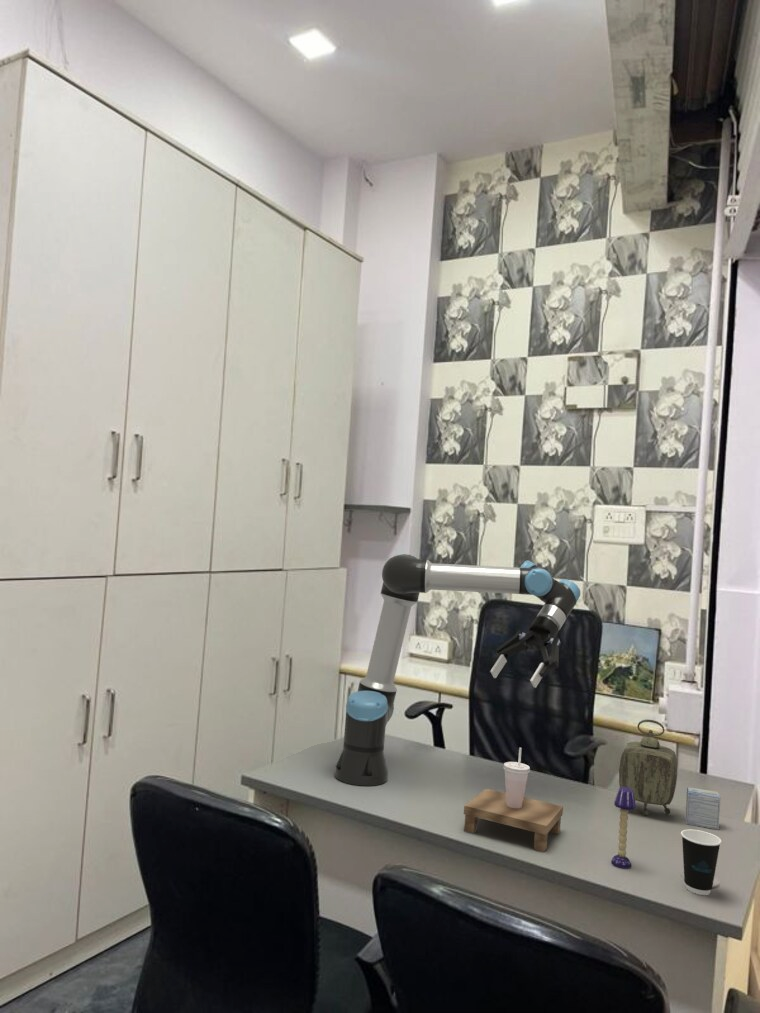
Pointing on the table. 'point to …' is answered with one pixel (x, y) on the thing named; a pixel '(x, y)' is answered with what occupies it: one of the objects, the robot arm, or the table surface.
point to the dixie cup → (699, 860)
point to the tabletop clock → (649, 770)
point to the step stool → (514, 815)
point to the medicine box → (702, 808)
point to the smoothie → (515, 782)
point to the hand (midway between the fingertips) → (512, 679)
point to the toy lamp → (623, 824)
